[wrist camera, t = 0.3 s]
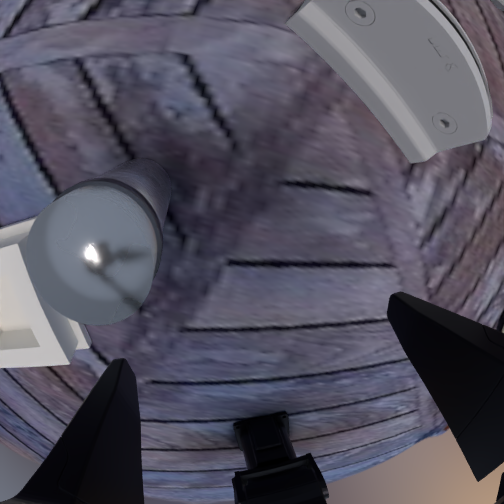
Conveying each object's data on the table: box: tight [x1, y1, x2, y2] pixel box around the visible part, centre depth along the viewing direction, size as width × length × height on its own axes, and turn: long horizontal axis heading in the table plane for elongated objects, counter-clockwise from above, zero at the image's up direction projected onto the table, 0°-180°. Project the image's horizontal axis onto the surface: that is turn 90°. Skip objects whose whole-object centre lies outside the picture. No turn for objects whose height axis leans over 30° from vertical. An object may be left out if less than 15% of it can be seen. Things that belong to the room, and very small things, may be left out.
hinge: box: [285, 0, 493, 163], centre depth 17 cm, size 17×5×10 cm, turn 48°
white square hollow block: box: [0, 216, 92, 368], centre depth 19 cm, size 12×12×4 cm
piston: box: [26, 158, 172, 326], centre depth 15 cm, size 5×5×13 cm
